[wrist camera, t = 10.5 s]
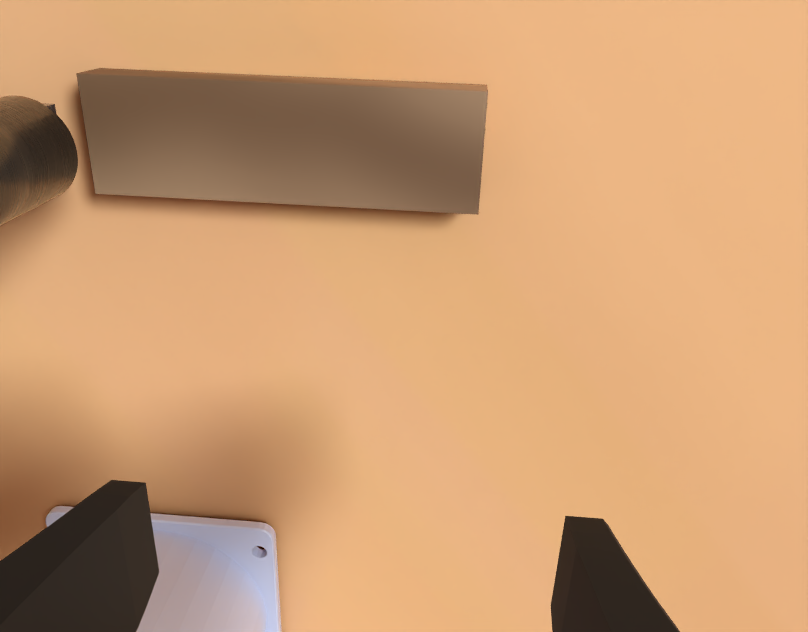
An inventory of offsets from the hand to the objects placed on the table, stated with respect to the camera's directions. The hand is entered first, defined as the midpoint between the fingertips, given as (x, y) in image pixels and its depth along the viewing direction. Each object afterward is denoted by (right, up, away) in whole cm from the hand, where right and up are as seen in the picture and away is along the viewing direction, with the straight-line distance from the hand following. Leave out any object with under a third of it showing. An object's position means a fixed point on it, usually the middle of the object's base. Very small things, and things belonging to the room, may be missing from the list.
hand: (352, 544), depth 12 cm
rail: (-2, +9, +7) cm, 11 cm away
